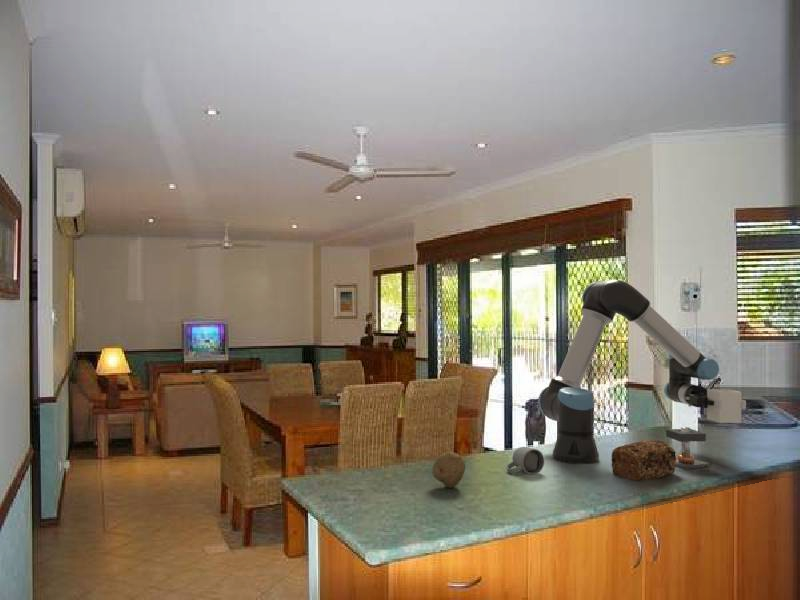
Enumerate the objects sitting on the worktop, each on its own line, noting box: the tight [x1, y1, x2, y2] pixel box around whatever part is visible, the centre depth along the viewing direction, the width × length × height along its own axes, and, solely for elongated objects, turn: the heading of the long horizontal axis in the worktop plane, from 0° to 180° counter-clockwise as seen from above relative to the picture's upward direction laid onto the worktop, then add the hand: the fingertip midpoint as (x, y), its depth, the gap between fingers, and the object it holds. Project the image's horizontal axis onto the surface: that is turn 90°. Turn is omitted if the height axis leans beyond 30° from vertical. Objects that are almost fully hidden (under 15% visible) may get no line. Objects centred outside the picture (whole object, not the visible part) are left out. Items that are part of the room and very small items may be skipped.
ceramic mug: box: [505, 446, 545, 476], centre depth 209 cm, size 11×8×8 cm
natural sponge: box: [432, 451, 466, 489], centre depth 190 cm, size 9×9×10 cm
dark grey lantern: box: [675, 426, 710, 470], centre depth 222 cm, size 10×10×12 cm
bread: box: [611, 439, 677, 482], centre depth 207 cm, size 19×11×10 cm, turn 123°
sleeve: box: [706, 388, 742, 424], centre depth 223 cm, size 7×7×10 cm
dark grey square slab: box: [665, 428, 707, 443], centre depth 222 cm, size 9×9×2 cm
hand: (732, 404), depth 218 cm, fingers closed on sleeve, 7 cm apart
